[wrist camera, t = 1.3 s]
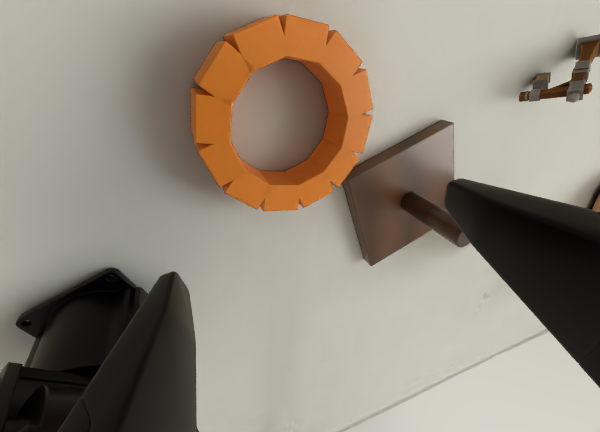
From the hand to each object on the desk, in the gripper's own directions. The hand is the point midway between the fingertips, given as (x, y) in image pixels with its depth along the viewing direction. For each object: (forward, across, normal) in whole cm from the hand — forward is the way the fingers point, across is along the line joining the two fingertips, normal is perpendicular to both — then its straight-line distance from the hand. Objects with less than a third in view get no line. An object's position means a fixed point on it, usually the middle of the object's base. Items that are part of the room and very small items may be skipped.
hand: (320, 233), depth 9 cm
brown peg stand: (+12, -11, +10) cm, 19 cm away
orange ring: (+12, -1, +1) cm, 12 cm away
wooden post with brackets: (+15, -27, +4) cm, 31 cm away
